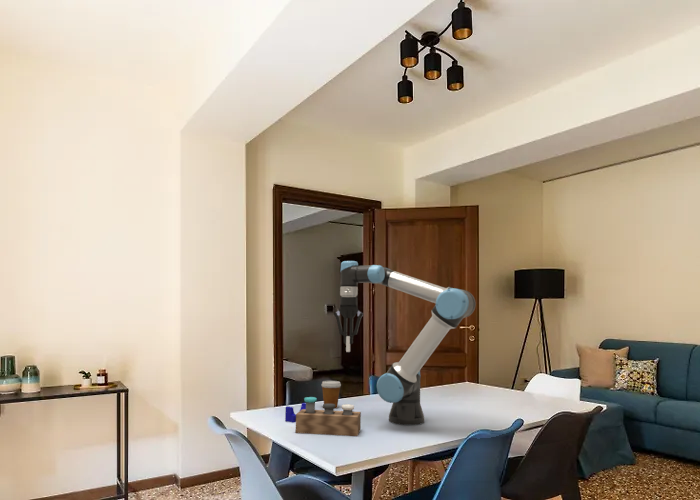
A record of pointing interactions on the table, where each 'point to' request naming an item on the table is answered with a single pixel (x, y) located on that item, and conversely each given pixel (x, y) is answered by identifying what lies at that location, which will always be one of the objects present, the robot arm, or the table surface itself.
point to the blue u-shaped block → (292, 413)
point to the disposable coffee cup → (331, 392)
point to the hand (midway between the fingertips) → (348, 351)
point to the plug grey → (347, 409)
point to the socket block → (328, 423)
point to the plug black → (328, 408)
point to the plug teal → (310, 404)
